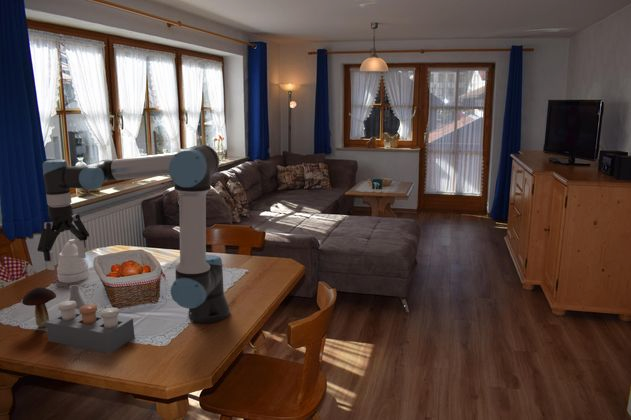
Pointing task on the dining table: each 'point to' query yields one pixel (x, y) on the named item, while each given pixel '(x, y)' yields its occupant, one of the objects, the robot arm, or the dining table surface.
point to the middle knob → (88, 313)
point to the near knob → (110, 317)
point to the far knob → (68, 310)
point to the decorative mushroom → (39, 303)
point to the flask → (76, 296)
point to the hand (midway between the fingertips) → (67, 263)
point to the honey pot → (71, 264)
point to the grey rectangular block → (90, 333)
